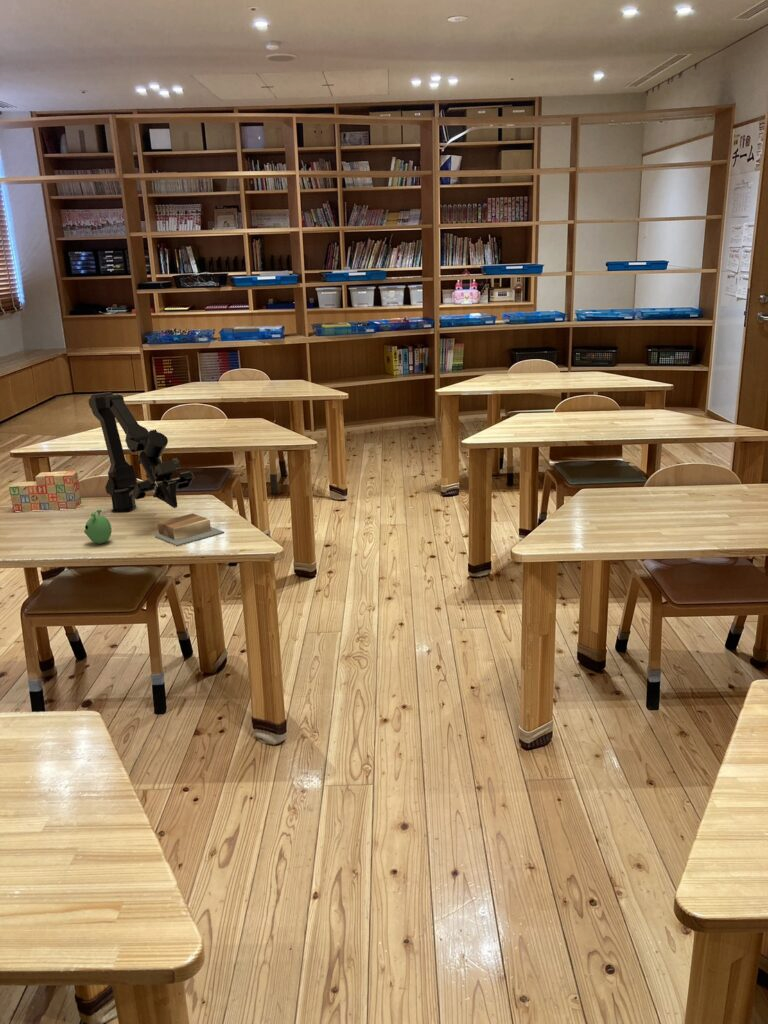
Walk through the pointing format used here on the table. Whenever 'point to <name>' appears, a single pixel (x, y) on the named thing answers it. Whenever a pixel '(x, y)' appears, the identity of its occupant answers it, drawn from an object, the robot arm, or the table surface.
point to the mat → (190, 537)
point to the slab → (184, 526)
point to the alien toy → (98, 528)
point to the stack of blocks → (47, 492)
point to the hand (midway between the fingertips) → (175, 507)
